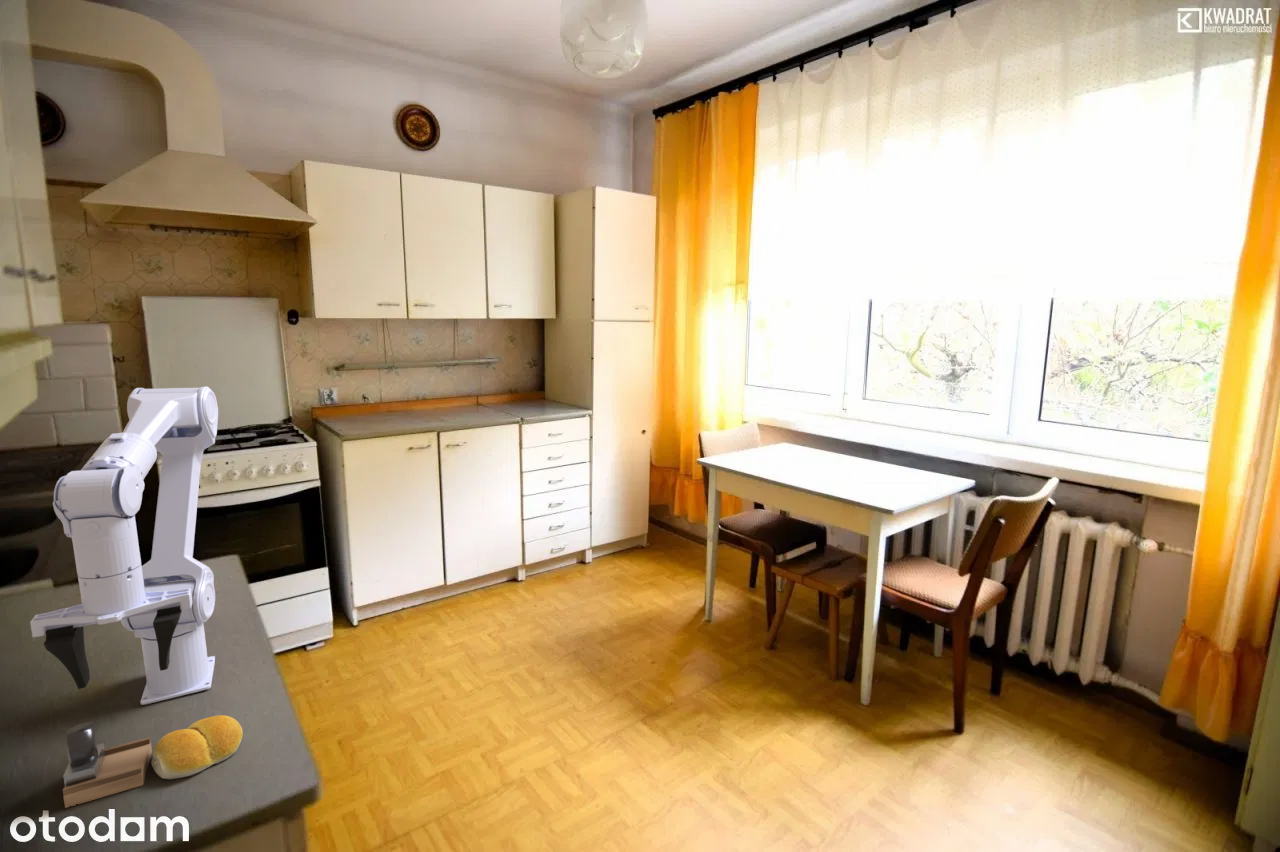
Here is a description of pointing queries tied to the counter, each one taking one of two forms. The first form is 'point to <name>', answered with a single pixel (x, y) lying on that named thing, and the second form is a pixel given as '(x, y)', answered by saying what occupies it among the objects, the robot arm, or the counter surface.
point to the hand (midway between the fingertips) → (125, 674)
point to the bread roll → (196, 747)
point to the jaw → (83, 754)
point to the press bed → (114, 773)
